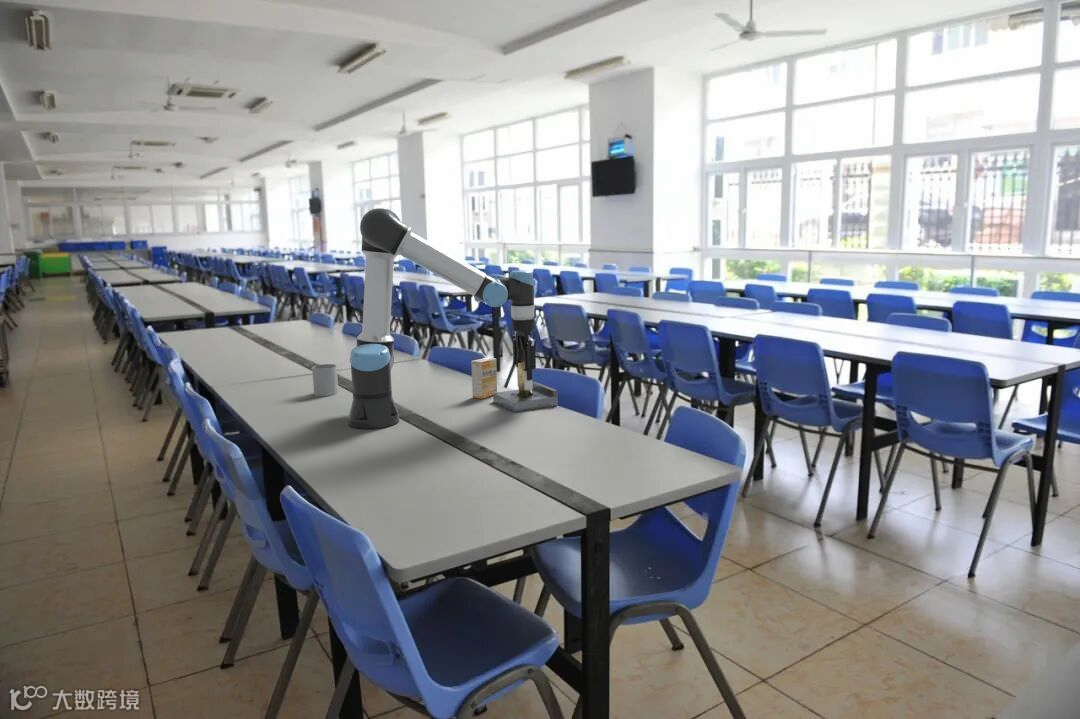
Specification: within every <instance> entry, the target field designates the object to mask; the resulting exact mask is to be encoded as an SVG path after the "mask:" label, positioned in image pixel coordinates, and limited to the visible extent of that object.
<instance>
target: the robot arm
mask: <svg viewBox="0 0 1080 719" xmlns="http://www.w3.org/2000/svg"><path fill="white" fill-rule="evenodd" d="M359 231H360V234H361V251H360V252H362V254H363V255H364V256H365V268H364V270H365V274H364V287H363V288H364V290H363V292H364V293H363V294H364V295H363V307H362V308H363V310H362V330H361V333H360V334H358V336H357V337H356V347H355V346H354V348H352V350H350V354H349V356H350V357H349V363H350V369H351V371H350V372H351V387H352V403H351V407H350V411H349V414H348V425H349V426H350V427H352V428H355V429H362V430H363V429H365V430H369V429H370V430H371V429H381V428H387V427H391V426H393V425H397V424H398V423H400V413H399V410H398V408H397V405H396V403H395V400H394V398H393V393H392V392H393V391H392V390H393V389H392V369H393V366H394V363H395V356H394V346H395V338H394V337H393V336H392V335H391V332H390V331H391V317H392V316H391V315H392V300H393V299H392V298H393V297H392V296H393V284H394V283H393V282H394V265H395V259H396V258H397V257H398V256H402V257H403V258H405V259H407V260H409V261H410V262H412V263H414V264H416V265H417V266H420V267H421V268H422V269H425V270H427V271H429V272H430V273H433V274H434V275H436V276H437V277H440V278H441V279H443V280H445V281H447V282H449V283H450V284H452V285H453V286H456V287H457V288H459V289H461V290H463V291H465V292H467V293H469V294H470V295H472V296H473V298H474V301H475V302H476V303H477V302H479V303H480V302H482V303H485V304H486V305H487V306H488V307H492V308H497V307H501V306H502V305H504V304H505V303H506V302H508V301H510V303H511V304H510V312H511V314H510V315H511V318H512V320H511V330H512V331H513V332H515V334H513V335H511V341H512V361H513V362H512V363H513V365H515V367H516V372H517V373H516V374H517V377H516V378H517V387H518V388H519V383H518V363H519V362H524V364H525V369H523V371H524V390H530V389H533V382H534V381H533V370H535V369H537V358H536V357H537V356H536V355H537V354H536V353H537V350H536V348H537V347H536V346H537V339H535V338H534V339H533V335H532V331H534V330H535V328H536V324H535V323H536V322H535V320H536V318H534V317H535V310H536V307H535V284H534V283H535V282H534V274H533V272H532V271H531V270H524V269H522V270H521V269H520V270H512V271H510V272H509V273H510V274H509V276H507V277H491V276H490V275H488V274H486V273H484V272H483V271H481V270H479V269H478V268H475V267H474V266H472V265H470V264H469V263H467V262H465V261H464V260H462V259H460V258H458V257H456V256H455V255H453V254H451V253H449V252H448V251H445V250H444V249H442V248H441V247H439V246H438V245H435V244H434V243H431V242H429V241H428V240H426V239H424V238H422V236H419V235H418V234H416V233H415V232H413V231H412V227H410V226H409V225H406V224H405V223H403V221H401V220H400V217H398V215H397V214H396V213H395V212H394V211H392V210H390V209H386V208H378V207H377V208H372V209H371V210H369V211H367V212H366V213H365V214H364V215H363V216H362V217H361V220H360V224H359Z"/></svg>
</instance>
